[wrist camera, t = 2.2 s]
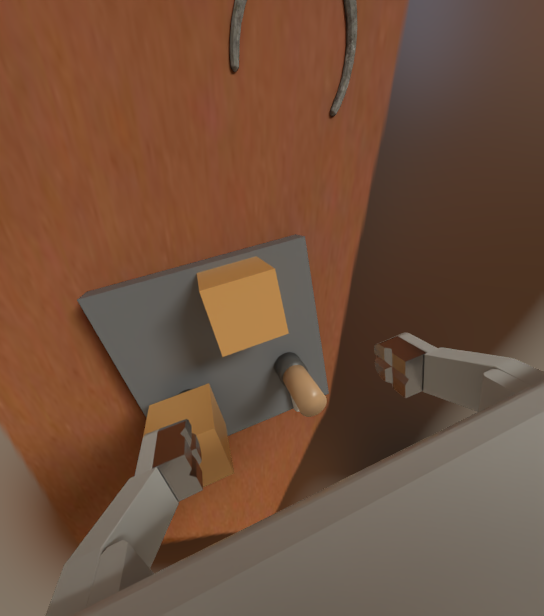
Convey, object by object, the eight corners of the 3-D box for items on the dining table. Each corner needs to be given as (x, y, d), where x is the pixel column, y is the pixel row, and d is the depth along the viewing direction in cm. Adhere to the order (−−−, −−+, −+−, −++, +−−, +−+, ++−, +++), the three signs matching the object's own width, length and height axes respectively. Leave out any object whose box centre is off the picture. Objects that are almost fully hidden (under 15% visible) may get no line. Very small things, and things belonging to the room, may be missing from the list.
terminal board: (86, 291, 20) (20, 345, 12) (295, 234, 23) (350, 246, 15) (172, 443, 27) (165, 537, 19) (320, 382, 31) (365, 442, 23)
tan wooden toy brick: (196, 273, 20) (199, 291, 15) (256, 256, 21) (275, 268, 16) (215, 327, 22) (222, 357, 17) (269, 309, 23) (288, 333, 18)
